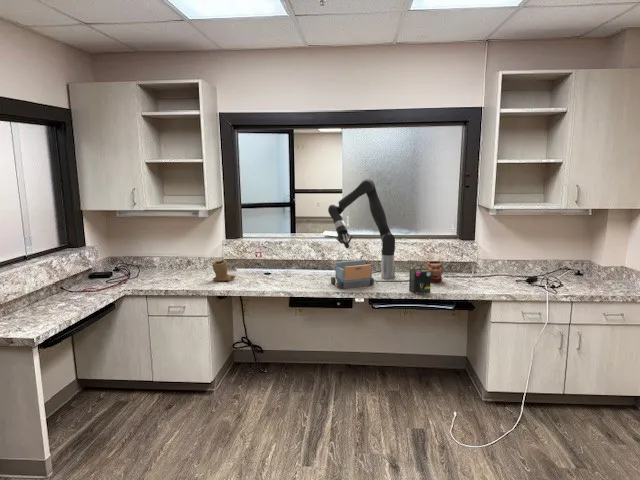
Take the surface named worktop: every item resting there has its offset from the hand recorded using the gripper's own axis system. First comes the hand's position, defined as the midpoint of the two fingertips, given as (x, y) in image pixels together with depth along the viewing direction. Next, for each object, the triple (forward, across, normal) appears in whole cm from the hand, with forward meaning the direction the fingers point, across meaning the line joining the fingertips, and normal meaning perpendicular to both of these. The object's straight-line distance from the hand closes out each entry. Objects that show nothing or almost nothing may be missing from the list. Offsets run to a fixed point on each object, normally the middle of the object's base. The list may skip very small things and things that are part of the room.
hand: (347, 247), depth 295 cm
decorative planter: (+34, +57, -3) cm, 67 cm away
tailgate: (+25, 0, 0) cm, 25 cm away
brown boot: (-8, -80, +50) cm, 94 cm away
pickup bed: (+23, 0, +11) cm, 26 cm away
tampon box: (+47, +31, -15) cm, 58 cm away
